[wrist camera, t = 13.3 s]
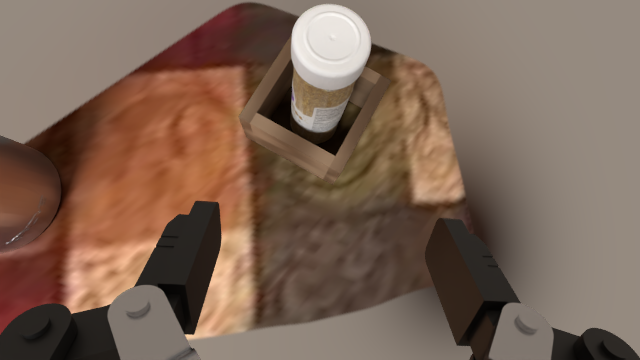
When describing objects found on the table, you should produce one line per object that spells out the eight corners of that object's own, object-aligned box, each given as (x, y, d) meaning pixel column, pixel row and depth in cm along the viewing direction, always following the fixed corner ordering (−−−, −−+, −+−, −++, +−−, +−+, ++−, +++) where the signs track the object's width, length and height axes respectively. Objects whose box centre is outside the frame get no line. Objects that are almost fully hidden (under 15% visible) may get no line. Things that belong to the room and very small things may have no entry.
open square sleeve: (246, 137, 31) (238, 116, 26) (294, 60, 33) (295, 27, 28) (332, 184, 31) (340, 173, 26) (376, 105, 33) (391, 80, 28)
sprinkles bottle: (284, 105, 32) (282, 7, 19) (330, 95, 32) (360, -7, 19) (296, 151, 31) (303, 82, 18) (343, 140, 32) (383, 65, 18)
